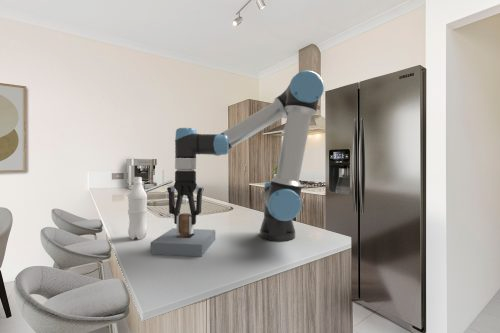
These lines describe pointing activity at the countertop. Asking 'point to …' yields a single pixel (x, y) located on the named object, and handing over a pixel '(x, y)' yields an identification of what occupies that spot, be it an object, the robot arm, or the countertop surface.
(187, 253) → the socket board
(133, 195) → the water bottle
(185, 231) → the peg
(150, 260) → the countertop surface
